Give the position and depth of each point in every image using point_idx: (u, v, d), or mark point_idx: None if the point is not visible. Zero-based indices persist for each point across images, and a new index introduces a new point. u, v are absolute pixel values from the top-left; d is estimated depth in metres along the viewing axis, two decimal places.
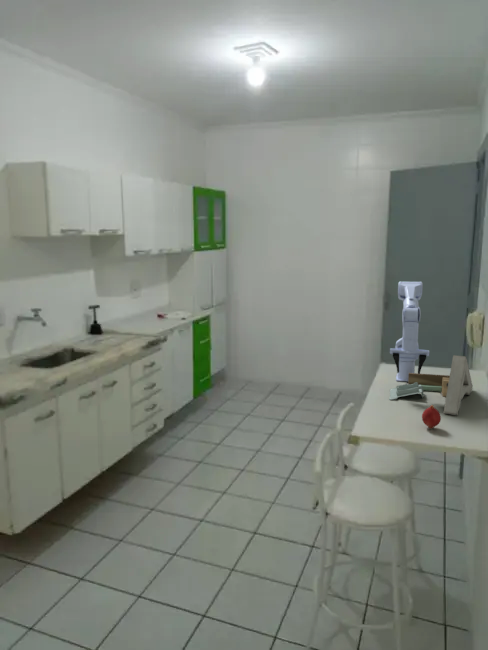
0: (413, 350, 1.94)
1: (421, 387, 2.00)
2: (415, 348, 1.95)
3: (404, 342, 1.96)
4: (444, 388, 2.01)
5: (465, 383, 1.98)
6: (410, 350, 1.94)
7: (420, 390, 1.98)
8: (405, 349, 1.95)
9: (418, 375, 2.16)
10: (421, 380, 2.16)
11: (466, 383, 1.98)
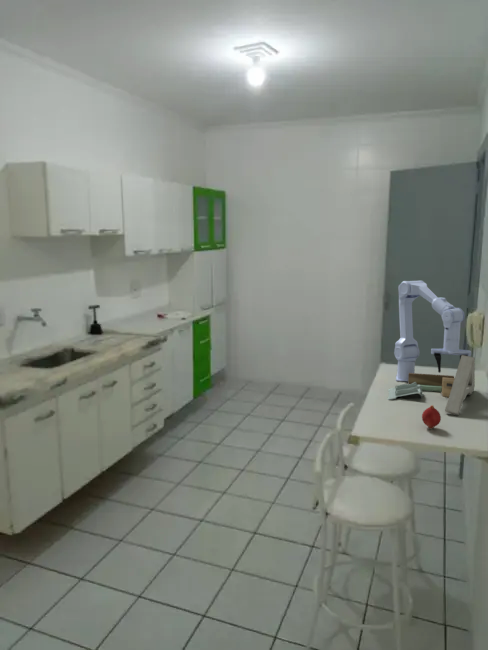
0: (455, 350, 1.98)
1: (420, 387, 2.01)
2: (457, 348, 1.98)
3: (446, 342, 1.99)
4: (444, 388, 2.01)
5: (468, 383, 1.98)
6: (452, 350, 1.97)
7: (419, 390, 1.98)
8: (447, 349, 1.98)
9: (418, 375, 2.16)
10: (421, 380, 2.16)
11: (469, 383, 1.98)
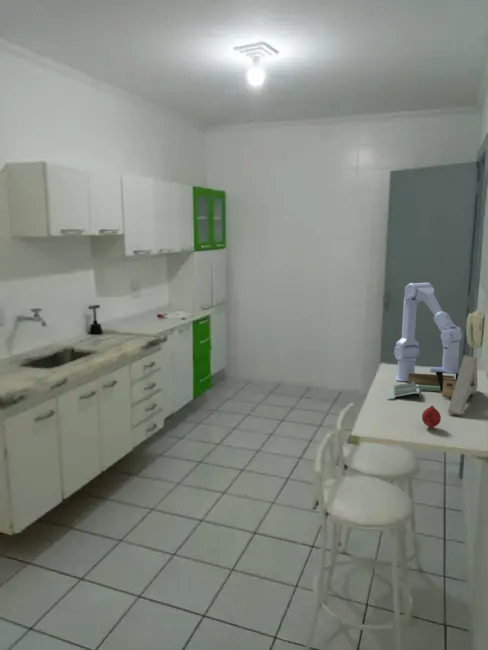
0: (454, 369, 1.99)
1: (418, 386, 2.01)
2: (456, 367, 1.99)
3: (445, 361, 2.00)
4: (444, 388, 2.01)
5: (471, 383, 1.97)
6: (451, 369, 1.99)
7: (417, 389, 1.99)
8: (446, 368, 2.00)
9: (418, 375, 2.16)
10: (421, 380, 2.16)
11: (472, 383, 1.97)
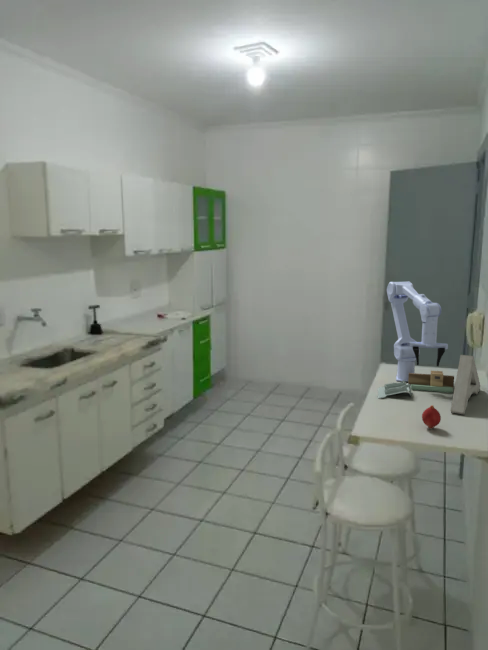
0: (432, 343, 2.05)
1: (409, 385, 2.03)
2: (434, 341, 2.05)
3: (424, 336, 2.06)
4: (432, 381, 2.09)
5: (473, 383, 1.99)
6: (429, 343, 2.05)
7: (408, 388, 2.00)
8: (425, 342, 2.06)
9: (418, 375, 2.16)
10: (421, 380, 2.16)
11: (474, 383, 1.99)
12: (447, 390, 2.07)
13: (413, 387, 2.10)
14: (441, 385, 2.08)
